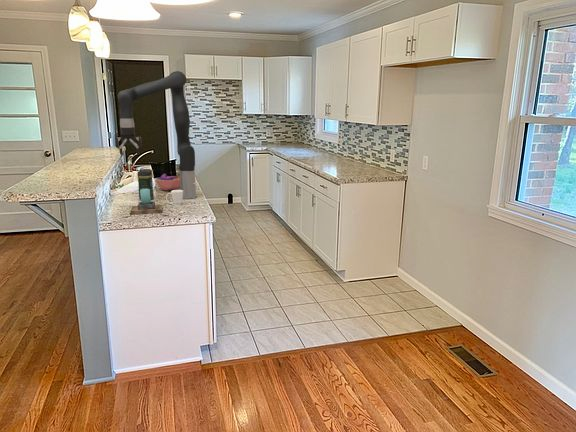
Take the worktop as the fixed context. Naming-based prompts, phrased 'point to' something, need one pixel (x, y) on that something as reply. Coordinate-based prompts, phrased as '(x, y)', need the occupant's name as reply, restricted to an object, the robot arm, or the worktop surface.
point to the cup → (176, 197)
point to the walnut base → (146, 208)
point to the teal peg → (145, 196)
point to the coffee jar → (145, 181)
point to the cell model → (168, 182)
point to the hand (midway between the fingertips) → (129, 155)
